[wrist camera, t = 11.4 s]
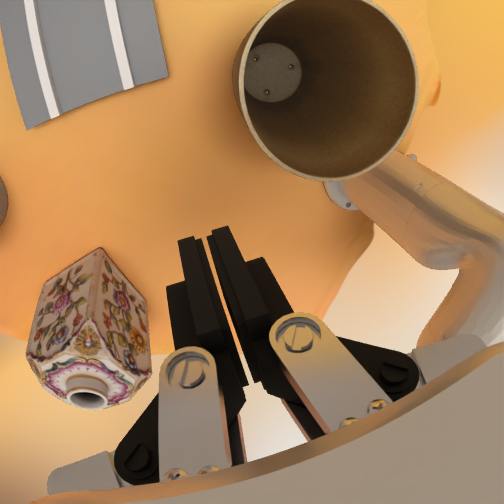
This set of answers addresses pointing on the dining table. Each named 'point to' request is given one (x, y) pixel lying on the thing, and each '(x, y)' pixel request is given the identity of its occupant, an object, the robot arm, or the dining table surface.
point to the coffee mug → (3, 201)
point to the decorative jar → (90, 335)
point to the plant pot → (326, 86)
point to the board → (78, 51)
